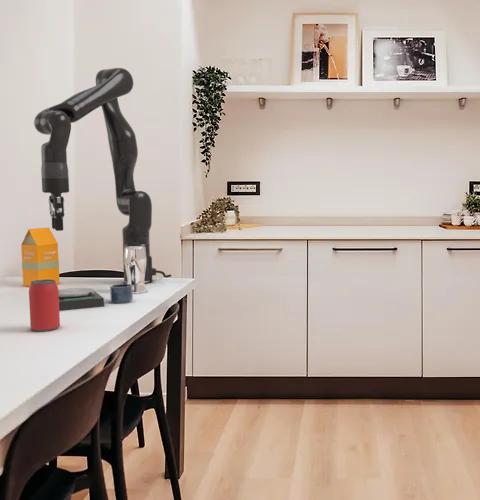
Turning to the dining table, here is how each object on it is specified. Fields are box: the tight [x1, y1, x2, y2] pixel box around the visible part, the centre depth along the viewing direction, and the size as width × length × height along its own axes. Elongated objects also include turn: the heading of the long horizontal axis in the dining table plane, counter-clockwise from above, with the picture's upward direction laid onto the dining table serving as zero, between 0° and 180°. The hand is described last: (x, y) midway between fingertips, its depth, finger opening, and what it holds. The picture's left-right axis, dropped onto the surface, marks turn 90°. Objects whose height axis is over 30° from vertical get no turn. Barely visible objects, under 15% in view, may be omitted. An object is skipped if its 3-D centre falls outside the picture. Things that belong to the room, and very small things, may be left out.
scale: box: [59, 291, 105, 312], centre depth 183 cm, size 13×15×3 cm
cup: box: [109, 283, 134, 305], centre depth 187 cm, size 6×6×5 cm
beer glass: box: [124, 246, 147, 294], centre depth 203 cm, size 7×7×15 cm
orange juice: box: [20, 227, 61, 287], centre depth 215 cm, size 8×9×20 cm
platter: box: [58, 287, 96, 297], centre depth 183 cm, size 11×11×1 cm
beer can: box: [28, 279, 61, 332], centre depth 152 cm, size 7×7×12 cm
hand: (57, 229), depth 190 cm, fingers open, 8 cm apart
